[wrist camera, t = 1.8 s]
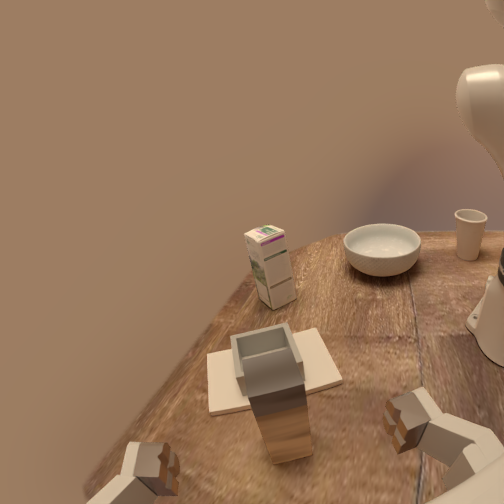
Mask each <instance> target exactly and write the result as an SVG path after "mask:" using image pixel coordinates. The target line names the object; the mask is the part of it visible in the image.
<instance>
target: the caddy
mask: <svg viewBox="0 0 504 504" xmlns="http://www.w3.org/2000/svg"><path fill="white" fill-rule="evenodd" d="M230 337H231V345H232V349H229V350H224V351H219V352H215V353H210V354H207V367H208V395H209V413H210V414H211V416H215V415H221V414H227V413H232V412H238V411H243V410H247V409H252V408H251V405H250V402H249V399H248V396H247V390H246V384H245V378H244V372H243V366H242V360H243V359H248V358H252V357H256V356H260V355H264V354H268V353H272V352H276V351H280V350H284V349H288V348H291V349H292V352H293V354H294V357H295V360H296V362H297V365H298V368H299V370H300V373H301V375H302V378H303V381H304V383H305V391H306V395H308V394H311V393H315V392H318V391H321V390H324V389H327V388H331V387H334V386H337V385H340V384H342V377H341V375H340V373H339V371H338V369H337V367H336V365H335V364H334V362H333V360H332V358H331V356H330V354H329V352H328V350H327V348H326V346H325V344H324V342H323V340H322V338H321V337H320V335H319V333H318V331H317V329H316V328H312V329H309V330H305V331H302V332H298V333H294V334H292V333H291V330H290V328H289V325H288V323H287V322H286V323H282V324H279V325H275V326H271V327H267V328H263V329H259V330H255V331H250V332H246V333H242V334H237V335H233V336H230Z"/></svg>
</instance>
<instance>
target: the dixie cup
mask: <svg viewBox="0 0 504 504" xmlns="http://www.w3.org/2000/svg"><path fill="white" fill-rule="evenodd" d="M455 217H456V233H457V256H458V257H459V258H461V259H463V260H466V261H473V260H476V259H477V258H478V254H479V250H480V246H481V242H482V238H483V233H484V228H485V224H486V221H487V216H486V215H485V214H484V213H482V212H480V211H476V210H471V209H461V210H458V211H456V212H455Z"/></svg>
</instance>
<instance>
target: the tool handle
mask: <svg viewBox="0 0 504 504" xmlns="http://www.w3.org/2000/svg"><path fill="white" fill-rule="evenodd" d="M242 366H243V372H244V378H245V384H246V390H247V396H248V399H249V402H250V405H251V408H252V410H253V413H254V416H255V418H256V421H257V424H258V426H259V429H260V432H261V434H262V437H263V439H264V442H265V444H266V447H267V450H268V452H269V455H270V457H271V460H272V462H273V465H274V464H279V463H283V462H287V461H291V460H295V459H299V458H303V457H307V456H310V455H313V454H312V444H311V435H310V426H309V417H308V408H307V399H306V391H305V383H304V381H303V378H302V375H301V373H300V370H299V368H298V365H297V362H296V360H295V357H294V354H293V352H292V349H291V348H288V349H284V350H280V351H276V352H272V353H268V354H264V355H260V356H256V357H252V358H248V359H243V360H242Z"/></svg>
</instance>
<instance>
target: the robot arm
mask: <svg viewBox="0 0 504 504" xmlns="http://www.w3.org/2000/svg"><path fill="white" fill-rule="evenodd" d="M485 3H486V6H487V9H488V10H489V12H490V14H491V15H492V17H493V18H494V19H495V20H496V21H497V22H498V23H499V24H500V25H501V26H502V27H503V28H504V0H485ZM456 103H457V108H458V112H459V115H460V118H461V120H462V122H463V124H464V126H465V127H466V129H467V130H468V132H469V133H470V134H471V136H472V137H473V138H474V139H475V140H476V141H477V142H479V143H480V144H481V145H482V146H483V147H484V148H485V149H486V150H487V151H488V153H489V154H490V155H491V157H492V158H493V159H494V161H495V163H496V164H497V166H498V168H499V170H500V172H501V174H502V177H503V179H504V65H501V64H490V65H484V66H478V67H473V68H468V69H465V70H464V72H463V73H462V75H461V76H460V78H459V81H458V84H457V89H456ZM466 327H467V328H468V329H469V330H470V331H471V332H472V333H473V334H474V335H475V337H476V339H477V342H478V344H479V346H480V348H481V350H482V351H483V352H484V354H485V355H486V356H487V357H488V358H490V359H491V360H492V361H494V362H495V363H497V364H499V365H501V366H503V367H504V248H503V250H502V254H501V256H500V260H499V268H498V273H497V275H496V276H495V277H494V276H491V275H489V277H488V280H487V283H486V286H485V293H484V296H483V298H482V299H481V300H480V302H479V303H478V305H477V306H476V308H475V309H474V310H473V312H472V313H471V314H470V316H469V317H468V319H467V321H466ZM385 407H386V409H387V410H386V411H385V412H384V414H383V425H384V428H385V430H386V432H387V434H388V435H390V436H393V439H392V444H393V446H394V448H395V450H396V452H397V454H400V453H403V452H405V451H408V450H410V449H413V448H415V447H417V448H418V449H420V450H421V451H423V452H425V453H427V454H428V455H430V456H432V457H433V458H435V459H437V460H439V461H440V462H442V463H444V464H446V465H448V466H449V467H450V468H449V469H448V471H447V472H446V473H445V474H444V476H443V478H442V480H443V482H444V484H445V486H446V488H447V490H448V491H447V492H445V493H444V494H442V495H440V496H438V497H436V498H434V499H432V500H431V501H429V502H427V503H425V504H504V447H503V445H502V444H501V442H500V441H499V440H498V438H497V437H496V435H495V434H494V433H493V431H492V430H491V429H488V428H485V427H483V426H480V425H477V424H474V423H472V422H469V421H466V420H464V419H461V418H458V417H456V416H453V415H451V414H448V413H445V414H443V413H442V412H441V410H440V409H439V407H438V406H437V405H436V403H435V402H434V400H433V399H432V398H431V396H430V395H429V393H428V392H427V391H426V389H425V388H423V387H420V388H417V389H415V390H413V391H410V392H407V393H405V394H403V395H400V396H398V397H395V398H393V399H390V400H388V401H387V402H386V406H385ZM170 448H171V447H170V446H169V444H168V443H147V442H129V444H128V445H127V449H126V453H125V457H124V461H123V465H122V470H121V474H120V475H116V476H115V477H114V478H113V479H112V480H111V481H110V482H109V483H108V484H107V485H106V486H105V487H104V488H103V489H102V490H100V491H99V492H98V493H97V494H96V495H95V496H94V497H93V498H92V499H91V500H90V501H88V502H87V503H86V504H153V503H154V501H155V500H156V499H157V497H158V496H178V487H179V482H178V481H177V479H176V477H177V476H178V474H179V473H180V464H179V459H178V457H177V455H176V454H175V453H174V452H172V451H170Z"/></svg>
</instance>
